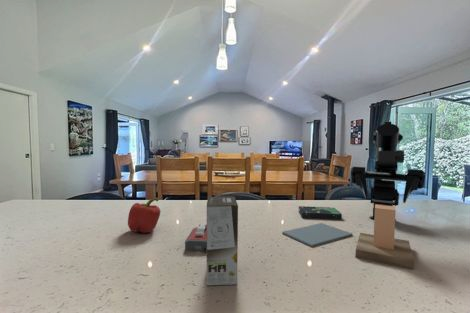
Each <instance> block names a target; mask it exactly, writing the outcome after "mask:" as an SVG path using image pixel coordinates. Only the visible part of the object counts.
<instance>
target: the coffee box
mask: <svg viewBox="0 0 470 313" xmlns="http://www.w3.org/2000/svg"><path fill="white" fill-rule="evenodd" d="M206 225H207V252H206V286H227V285H230V286H231V285H232V286H233V285H237V284H238V251H239V250H238V249H239V248H238V247H239V246H238V244H239V239H238V238H239V235H238V234H239V229H238V228H239V204H238V201H237V199H236V196H225V195H224V196H209V197H207V202H206Z"/></svg>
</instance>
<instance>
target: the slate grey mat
mask: <svg viewBox="0 0 470 313" xmlns="http://www.w3.org/2000/svg"><path fill="white" fill-rule="evenodd" d="M281 233H282V235H284V236H287V237H289V238H291V239H293V240H296V241H297V242H299V243H302V244H304V245H305V246H308V247H310V248H313V247H316V246H317V247H318V246H320V245H323V244H326V243H327V244H328V243H331V242H334V241H338V240H342V239H345V238H348V237H352V236H353V233H352V232H349V231H347V230H344V229H340V228H336V227H334V226H331V225H328V224H326V223H323V222H321V223H316V224H312V225H308V226H307V225H306V226H302V227H297V228H292V229H288V230H284V231H282V232H281Z"/></svg>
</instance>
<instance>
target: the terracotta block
mask: <svg viewBox="0 0 470 313" xmlns="http://www.w3.org/2000/svg"><path fill="white" fill-rule="evenodd" d="M395 219H396V206H395V205H393V206H387V205H378V204H375V217H374V219H373V220H374V224H373V235H374V244H373V246H376V247H382V248H387V249H393V250H394V238H395V231H396V230H395V229H396V227H395V226H396V221H395Z"/></svg>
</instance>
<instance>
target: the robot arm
mask: <svg viewBox="0 0 470 313" xmlns="http://www.w3.org/2000/svg"><path fill="white" fill-rule="evenodd" d="M403 139H404V136H403V135H402V134H401V133H400V127H399V126H397V125H396V124H393V123H392V121H384V123H383V124H379V125H378V127H377V128H376V130H375V131H374V132H373V140H372V141H373V142H372V143H373V146H374V150H375V161H374V171H369V170H366V166H352V167H351V170H350V178H351V179H350V180H351V183H352V184H353V185H355V186H359V188H360V189H361V191H362V193H363V196H364V198H365V199H366V200H368V197H369V196H368V185H367V179H371V180H373V179H374V180H373V182H372V183H373V184H372V185H373V186H370V204H373V207H372V215H371V216H369V219H371V220H374V217H375V204H378V205H387V206H395V207H397V206H399V205H400V204H399V200H400V192H399V191H398V188H396V182H404V183H405V186H404V192H403V196H402V197H403V198H402V200H403V201H402V203H403V204H406V202H407V200H408V198H409V196H410V195H411V193H413V192H414V191H418V190H419V189H423V188H424V185H425V181H426V172H425V171H424V169H411V168H408V169H407V174H406V173H404V174H403V173H398V169H399V168H398V167H399V166H398V163H402V164H403V163H404V161H405V150H399V149H398V150H397V146H398V145H399V144H400V143H401V141H403ZM396 221H397V219H396V218H395V222H396Z"/></svg>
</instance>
